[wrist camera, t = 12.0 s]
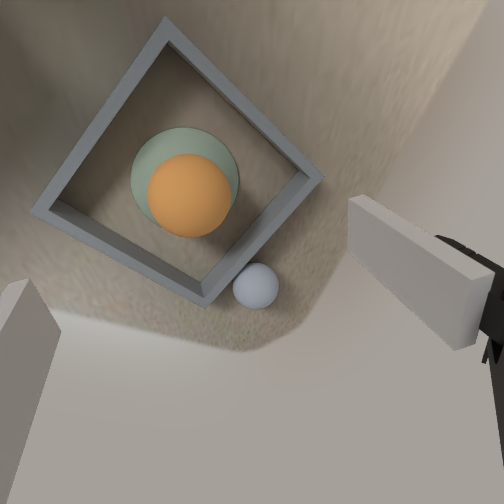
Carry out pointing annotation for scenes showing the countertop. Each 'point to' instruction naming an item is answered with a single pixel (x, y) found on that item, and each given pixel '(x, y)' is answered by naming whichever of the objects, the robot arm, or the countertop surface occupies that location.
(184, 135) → the pad
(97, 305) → the countertop surface
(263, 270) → the grey ball
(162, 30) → the corral
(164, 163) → the ball
